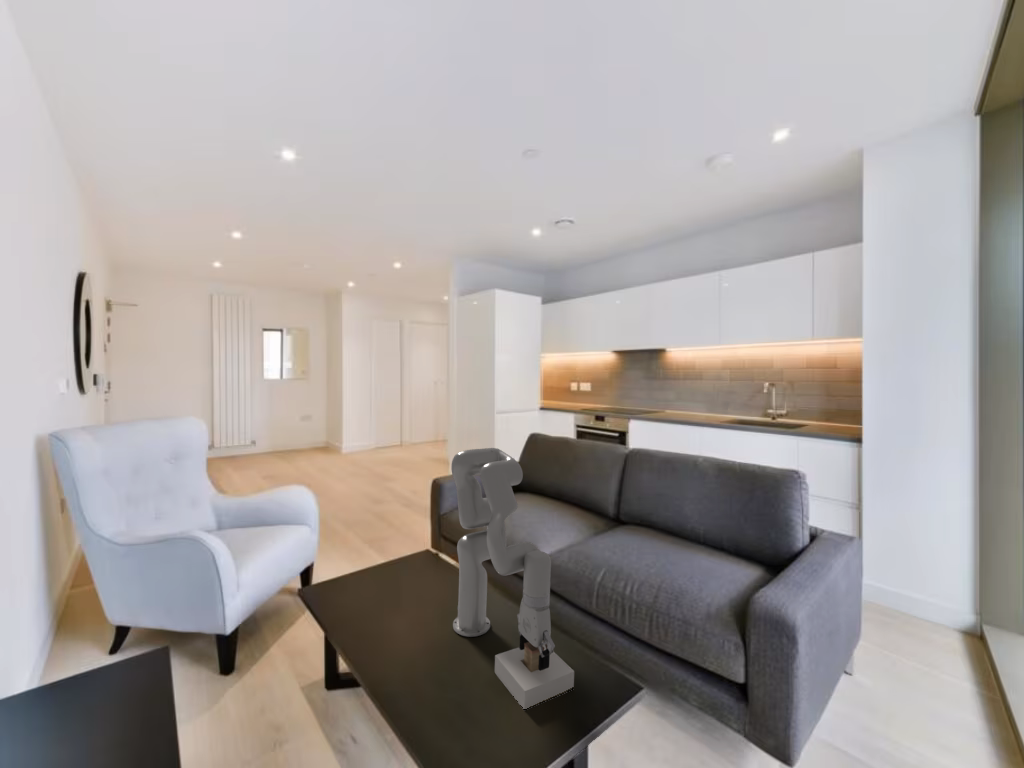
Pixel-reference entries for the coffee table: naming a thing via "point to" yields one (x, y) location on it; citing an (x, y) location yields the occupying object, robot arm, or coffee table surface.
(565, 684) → the socket block
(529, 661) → the maple peg
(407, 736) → the coffee table surface
